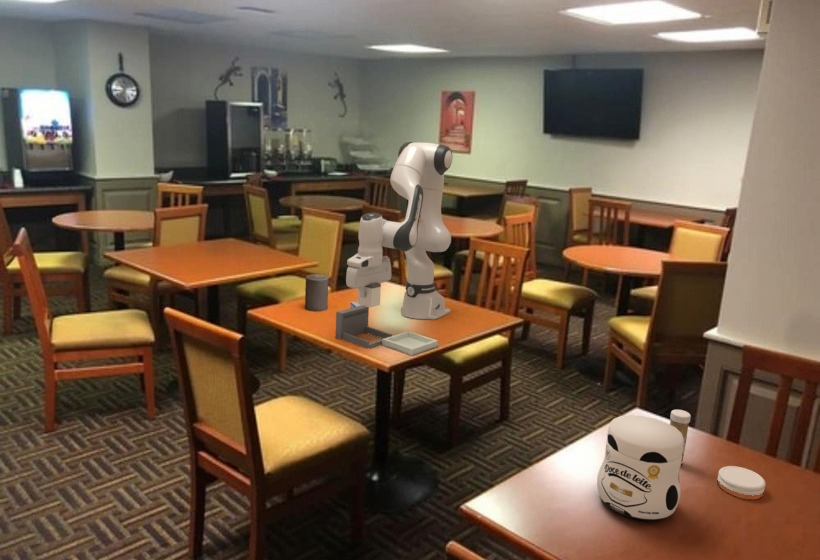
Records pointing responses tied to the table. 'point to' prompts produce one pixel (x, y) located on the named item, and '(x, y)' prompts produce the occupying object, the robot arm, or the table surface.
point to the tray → (410, 343)
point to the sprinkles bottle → (680, 424)
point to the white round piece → (741, 480)
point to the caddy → (370, 295)
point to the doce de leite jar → (641, 468)
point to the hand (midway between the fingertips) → (368, 295)
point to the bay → (357, 326)
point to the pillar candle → (316, 292)
